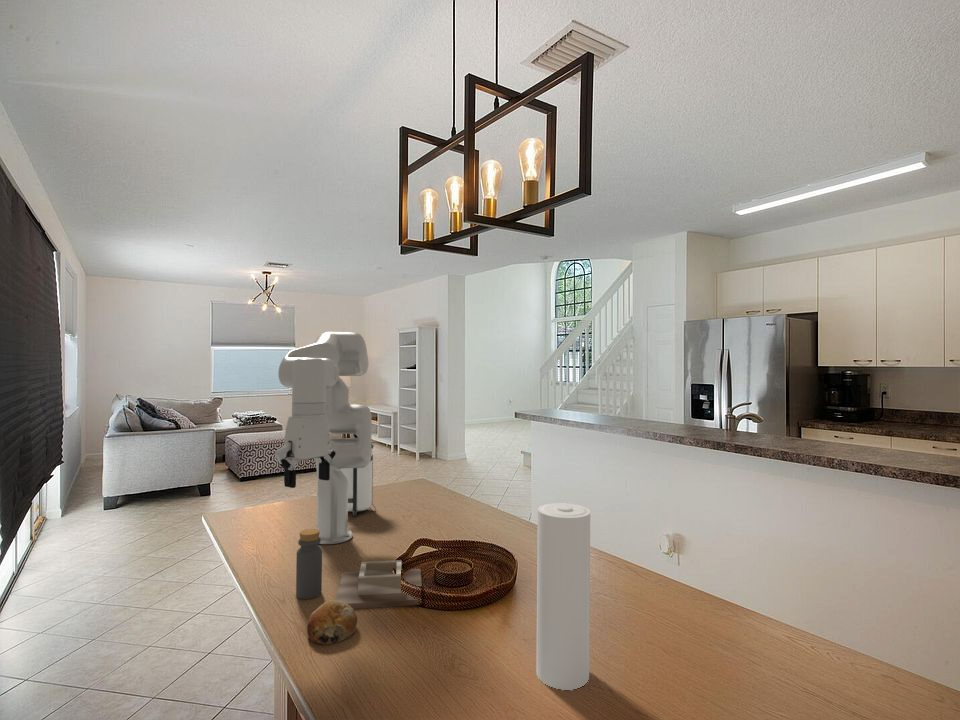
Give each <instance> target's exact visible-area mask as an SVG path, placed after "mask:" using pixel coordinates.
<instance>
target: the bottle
mask: <svg viewBox="0 0 960 720" xmlns="http://www.w3.org/2000/svg"><path fill="white" fill-rule="evenodd" d="M319 533H320V530H318V529H317V528H307V529H303V530H300V531H299V533H298V534H299V539H298V541H297V542H298V546H300V547H299V548H298V549H297V550H296V564H295V565H296V570H295V571H296V573H295V575H296V578H295V579H296V581H295V594H296V595H295V596H296V598H298V599H301V600H309V599H310V598H311V599H314V598H317V597H319V596H320V595H321V594H322V584H323V583H322V581H323V580H322V579H323V549H322V547H321V546H320V544H319V543H320V542H321V538H320V537H319Z"/></svg>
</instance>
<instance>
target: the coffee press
mask: <svg viewBox="0 0 960 720" xmlns="http://www.w3.org/2000/svg"><path fill="white" fill-rule="evenodd" d="M352 435H353V438H358V437H357V435H356V434H352ZM374 447H375V445H374V443H373V442H372V441H371V460H370V463H369V465H368V466H367V467H364V468H344V469H340V470H341V471H342V473H343V474H344V475H345V477H346V478H347V481H348V512H352V518H356V517H357V515H358V514H357V512H362V511H367V510H368V509H369V510H370V511H372V512H374V511H373V510H375V511H376V506H375V505H374V502H373V497H374V495H373V489H374V488H373V487H374V485H373V484H374V479H373V477H374V467H373V461H374V454H373V451H374V450H373V449H374ZM372 506H373V508H374V509H372Z"/></svg>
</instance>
